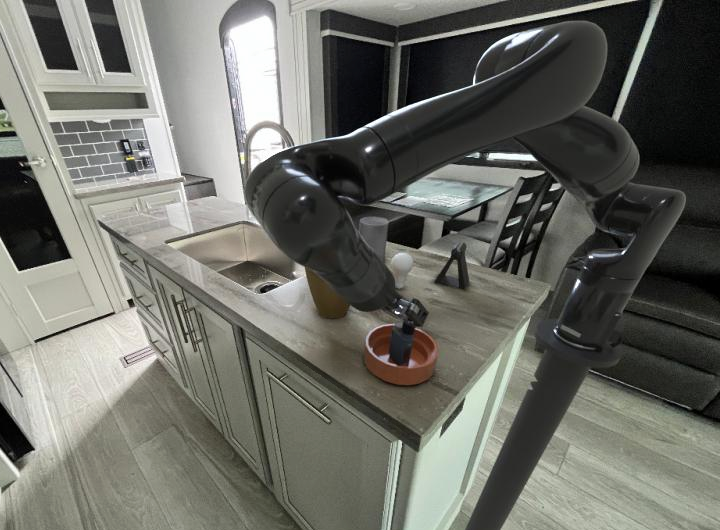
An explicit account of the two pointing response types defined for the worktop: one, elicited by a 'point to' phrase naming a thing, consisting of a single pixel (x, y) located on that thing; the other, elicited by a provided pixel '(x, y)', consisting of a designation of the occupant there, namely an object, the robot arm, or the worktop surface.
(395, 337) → the vaping device
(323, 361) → the worktop surface
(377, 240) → the pillar candle
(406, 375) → the bowl
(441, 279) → the phone stand
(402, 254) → the lightbulb
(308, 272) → the plant pot
